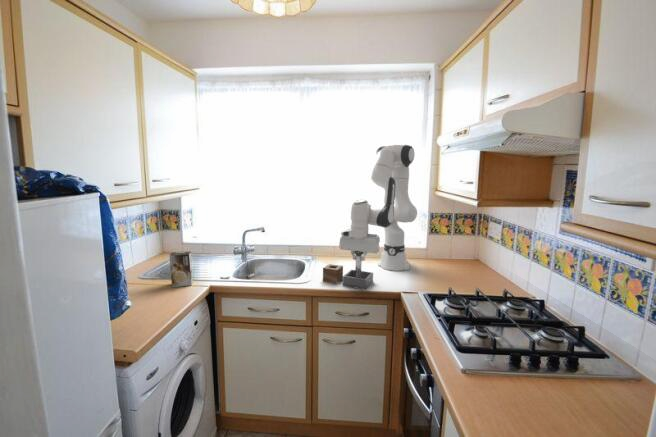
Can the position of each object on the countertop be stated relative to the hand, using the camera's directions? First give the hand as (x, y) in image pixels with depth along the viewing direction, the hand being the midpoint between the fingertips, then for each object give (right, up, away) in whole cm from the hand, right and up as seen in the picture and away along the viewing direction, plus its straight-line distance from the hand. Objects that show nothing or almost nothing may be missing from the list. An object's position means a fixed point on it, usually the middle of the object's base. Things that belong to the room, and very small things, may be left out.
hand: (358, 259), depth 158 cm
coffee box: (-88, -12, -1) cm, 89 cm away
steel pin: (0, -10, +1) cm, 10 cm away
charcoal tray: (0, -12, +2) cm, 13 cm away
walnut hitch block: (-13, -12, +8) cm, 19 cm away
